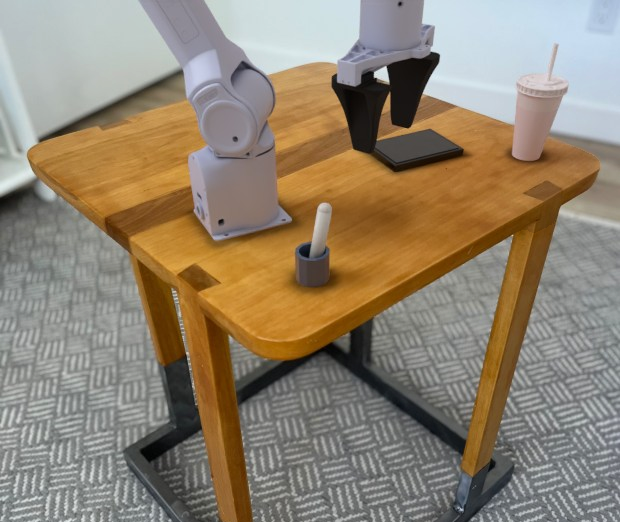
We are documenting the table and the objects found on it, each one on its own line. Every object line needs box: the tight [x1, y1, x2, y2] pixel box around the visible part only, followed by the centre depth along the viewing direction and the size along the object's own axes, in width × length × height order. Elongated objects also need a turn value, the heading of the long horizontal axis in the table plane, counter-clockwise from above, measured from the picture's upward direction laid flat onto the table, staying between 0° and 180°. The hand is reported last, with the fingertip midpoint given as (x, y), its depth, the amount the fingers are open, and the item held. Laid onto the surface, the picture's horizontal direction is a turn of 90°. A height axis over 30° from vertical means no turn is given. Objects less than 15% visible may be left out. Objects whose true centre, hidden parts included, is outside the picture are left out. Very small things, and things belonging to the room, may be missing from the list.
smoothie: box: [511, 42, 570, 162], centre depth 79 cm, size 6×6×14 cm
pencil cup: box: [294, 241, 331, 288], centre depth 62 cm, size 3×3×4 cm
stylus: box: [309, 202, 333, 258], centre depth 60 cm, size 1×1×8 cm
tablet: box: [370, 128, 465, 173], centre depth 85 cm, size 11×8×1 cm
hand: (383, 137), depth 64 cm, fingers open, 7 cm apart
